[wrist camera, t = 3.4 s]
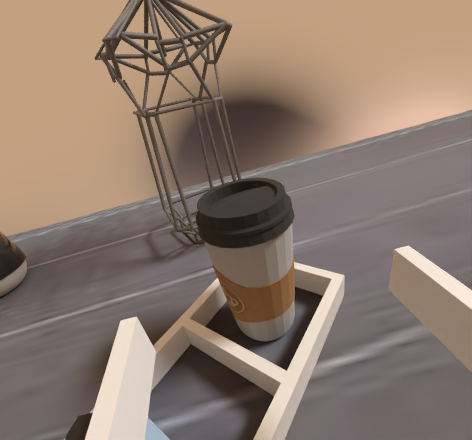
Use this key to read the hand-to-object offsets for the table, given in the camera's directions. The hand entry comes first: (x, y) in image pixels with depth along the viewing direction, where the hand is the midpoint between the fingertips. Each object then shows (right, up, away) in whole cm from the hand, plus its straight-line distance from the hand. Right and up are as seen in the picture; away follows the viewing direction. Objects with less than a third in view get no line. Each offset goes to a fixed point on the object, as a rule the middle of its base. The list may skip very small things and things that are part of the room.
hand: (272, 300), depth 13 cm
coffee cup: (+1, -7, +15) cm, 17 cm away
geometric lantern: (-6, +2, +35) cm, 35 cm away
